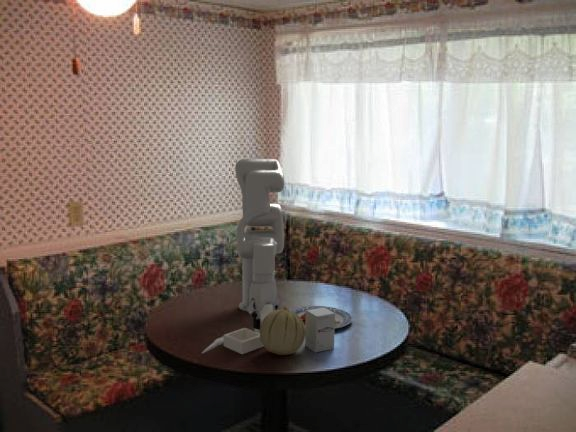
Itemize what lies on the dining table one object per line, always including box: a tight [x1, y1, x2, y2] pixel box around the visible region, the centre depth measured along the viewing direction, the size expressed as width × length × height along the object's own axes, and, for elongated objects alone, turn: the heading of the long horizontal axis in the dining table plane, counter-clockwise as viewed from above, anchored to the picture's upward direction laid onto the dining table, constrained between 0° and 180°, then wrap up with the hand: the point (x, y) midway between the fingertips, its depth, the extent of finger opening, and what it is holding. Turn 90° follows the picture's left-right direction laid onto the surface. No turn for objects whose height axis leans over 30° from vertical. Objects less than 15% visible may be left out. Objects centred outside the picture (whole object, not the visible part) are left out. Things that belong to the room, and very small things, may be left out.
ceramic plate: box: [289, 305, 353, 330], centre depth 217 cm, size 26×26×3 cm
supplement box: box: [304, 308, 335, 354], centre depth 192 cm, size 7×7×13 cm
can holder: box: [222, 327, 264, 355], centre depth 194 cm, size 10×10×4 cm
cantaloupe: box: [260, 306, 305, 356], centre depth 187 cm, size 15×15×15 cm
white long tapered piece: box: [201, 336, 224, 354], centre depth 194 cm, size 15×3×2 cm, turn 152°
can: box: [254, 303, 273, 333], centre depth 204 cm, size 6×6×12 cm
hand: (264, 325), depth 205 cm, fingers closed on can, 6 cm apart
